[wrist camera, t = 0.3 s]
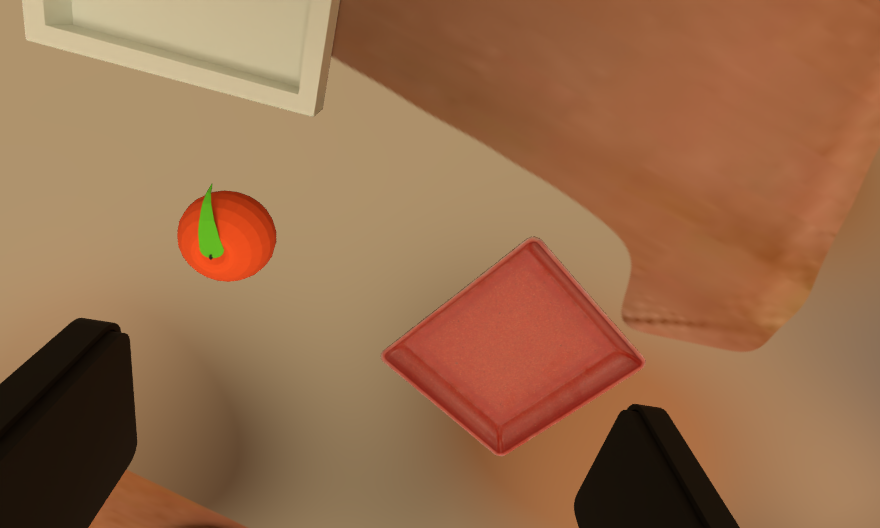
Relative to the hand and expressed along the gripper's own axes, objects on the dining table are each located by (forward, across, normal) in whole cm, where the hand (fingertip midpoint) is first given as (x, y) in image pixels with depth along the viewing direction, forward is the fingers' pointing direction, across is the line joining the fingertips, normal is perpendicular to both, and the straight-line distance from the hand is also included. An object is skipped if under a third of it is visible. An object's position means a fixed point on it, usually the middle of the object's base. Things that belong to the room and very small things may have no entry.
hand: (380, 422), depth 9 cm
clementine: (+31, +12, +10) cm, 35 cm away
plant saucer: (+31, -14, +18) cm, 39 cm away
